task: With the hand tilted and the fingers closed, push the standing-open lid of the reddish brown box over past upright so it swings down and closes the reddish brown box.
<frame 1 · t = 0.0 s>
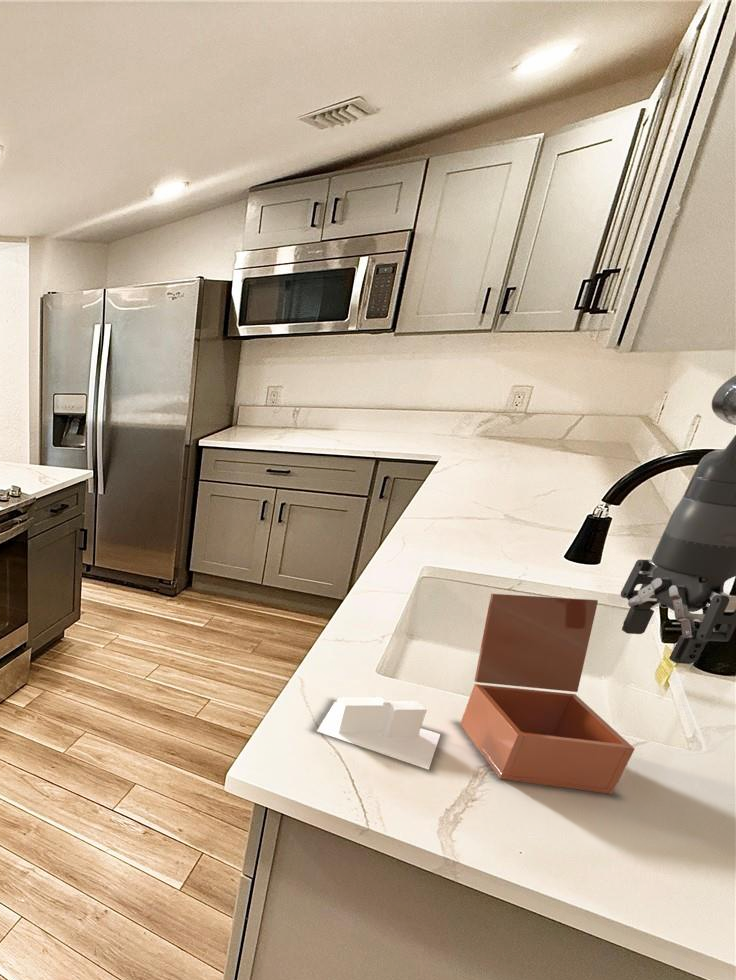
hand: (655, 646, 84), 19 cm above the worktop, tool pointing down, fingers open, 8 cm apart
napkin holder: (377, 733, 99), on the worktop
lid: (533, 642, 93), point 15 cm above the worktop, hinge at 104.4°
reddish brown box: (529, 756, 92), on the worktop
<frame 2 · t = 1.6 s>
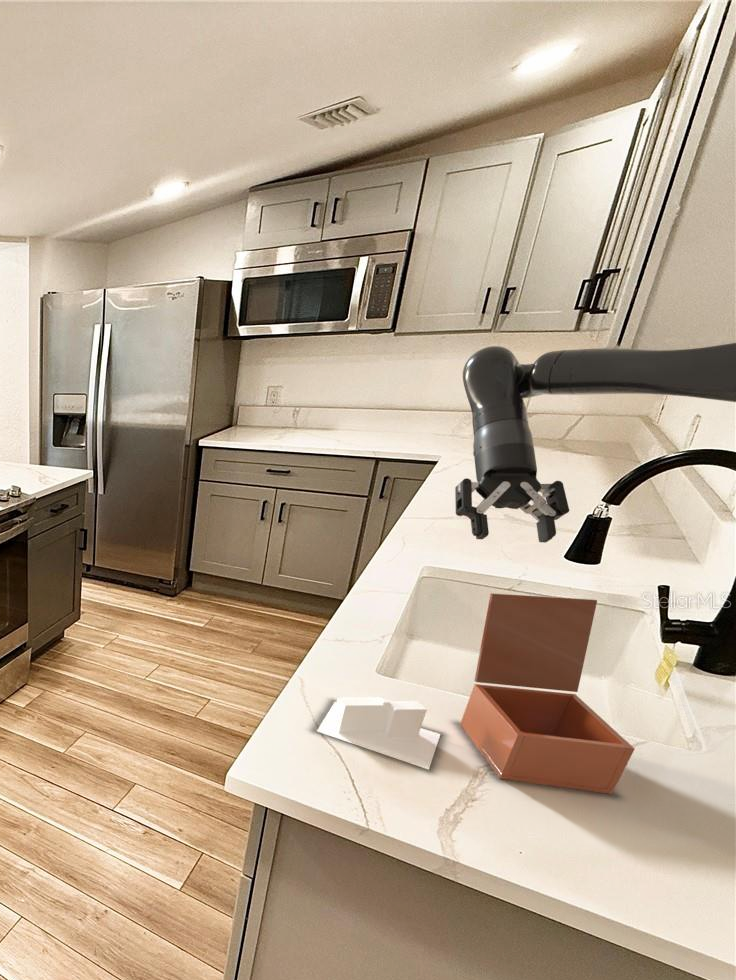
hand: (514, 539, 100), 27 cm above the worktop, tool tilted 45°, fingers open, 8 cm apart
lid: (533, 642, 93), point 15 cm above the worktop, hinge at 105.1°
everything else where it was.
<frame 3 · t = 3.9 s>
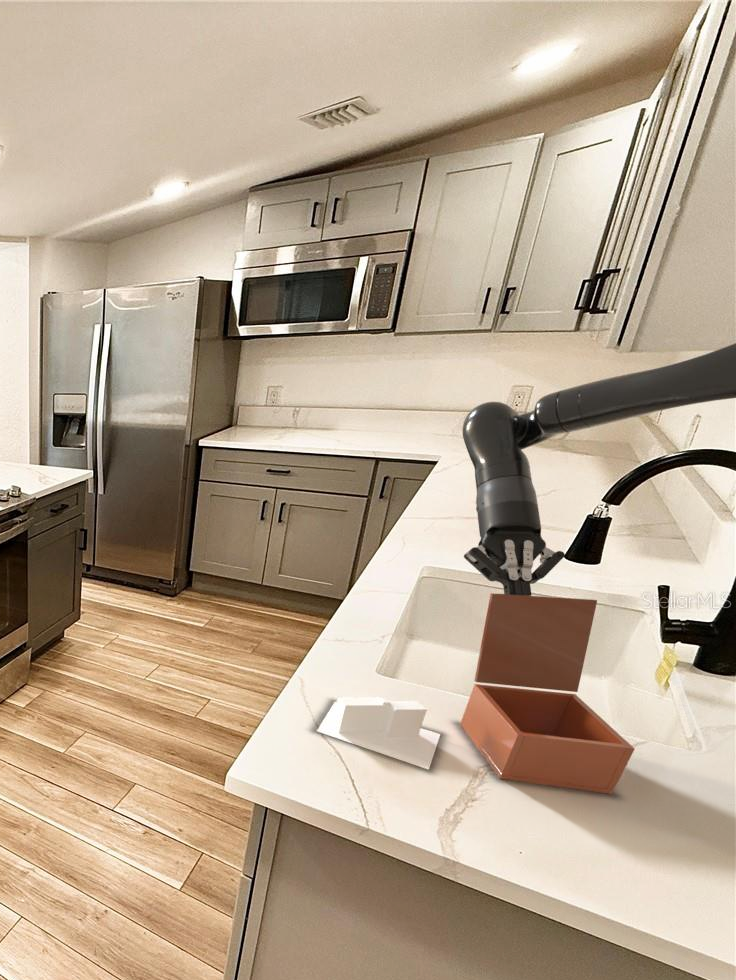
hand: (519, 605, 98), 18 cm above the worktop, tool tilted 45°, fingers closed
nothing on the worktop moved.
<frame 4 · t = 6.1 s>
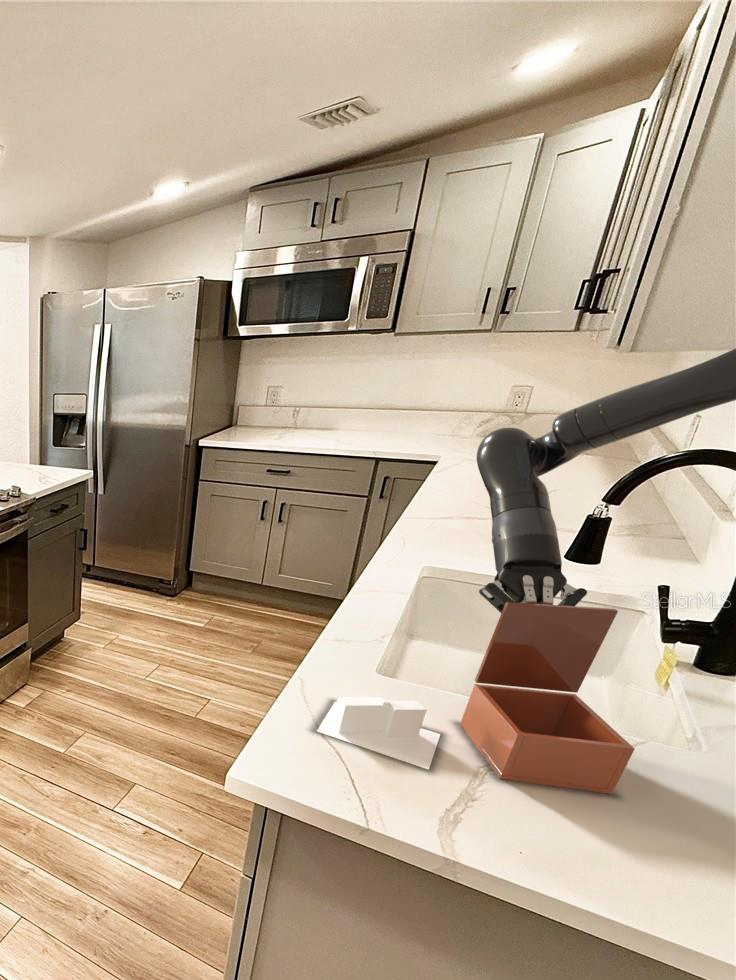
hand: (538, 645, 92), 15 cm above the worktop, tool tilted 45°, fingers closed
lid: (542, 647, 91), point 15 cm above the worktop, hinge at 86.6°, touching gripper
everything else where it was.
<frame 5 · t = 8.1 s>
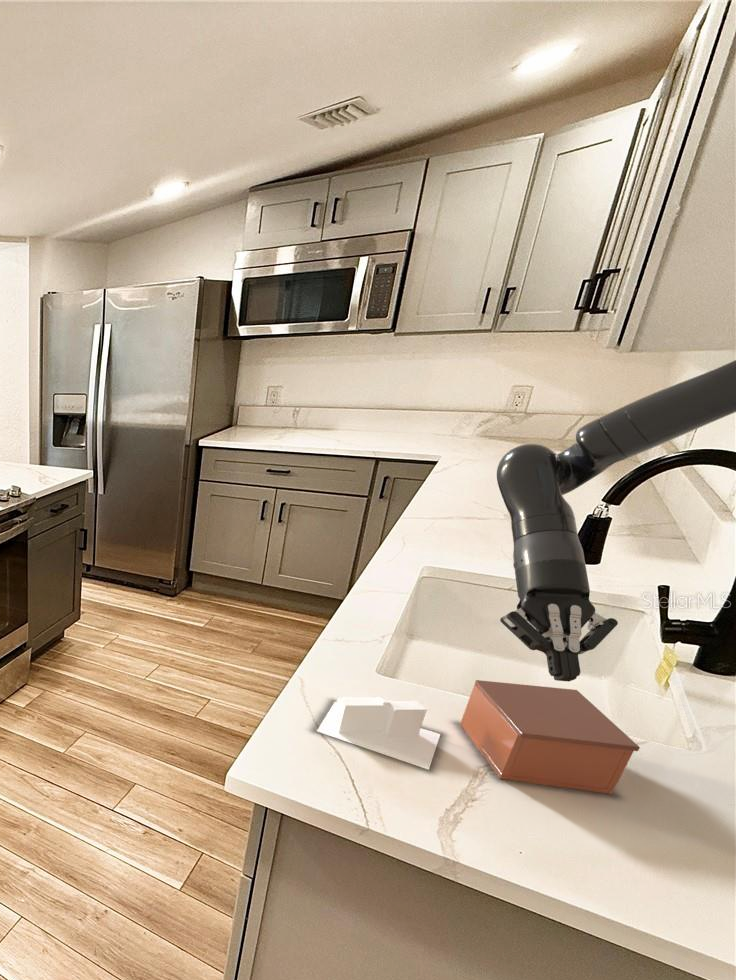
hand: (565, 679, 86), 14 cm above the worktop, tool tilted 45°, fingers closed
lid: (549, 712, 89), point 8 cm above the worktop, hinge at -0.2°
everything else where it was.
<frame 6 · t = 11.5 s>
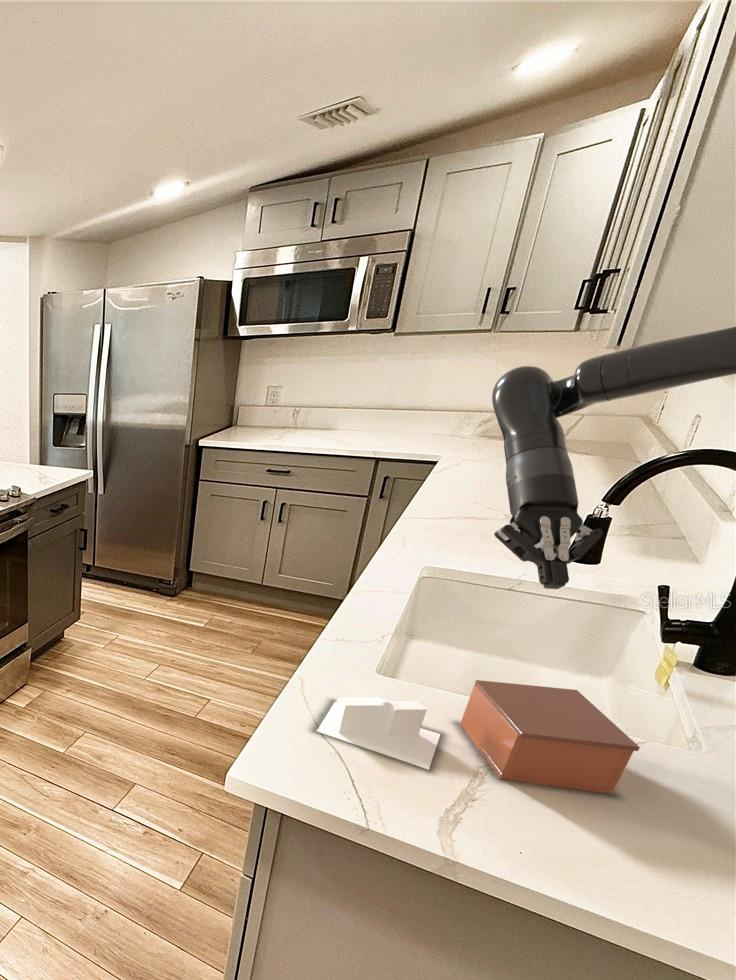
hand: (555, 587, 91), 24 cm above the worktop, tool tilted 45°, fingers closed
nothing on the worktop moved.
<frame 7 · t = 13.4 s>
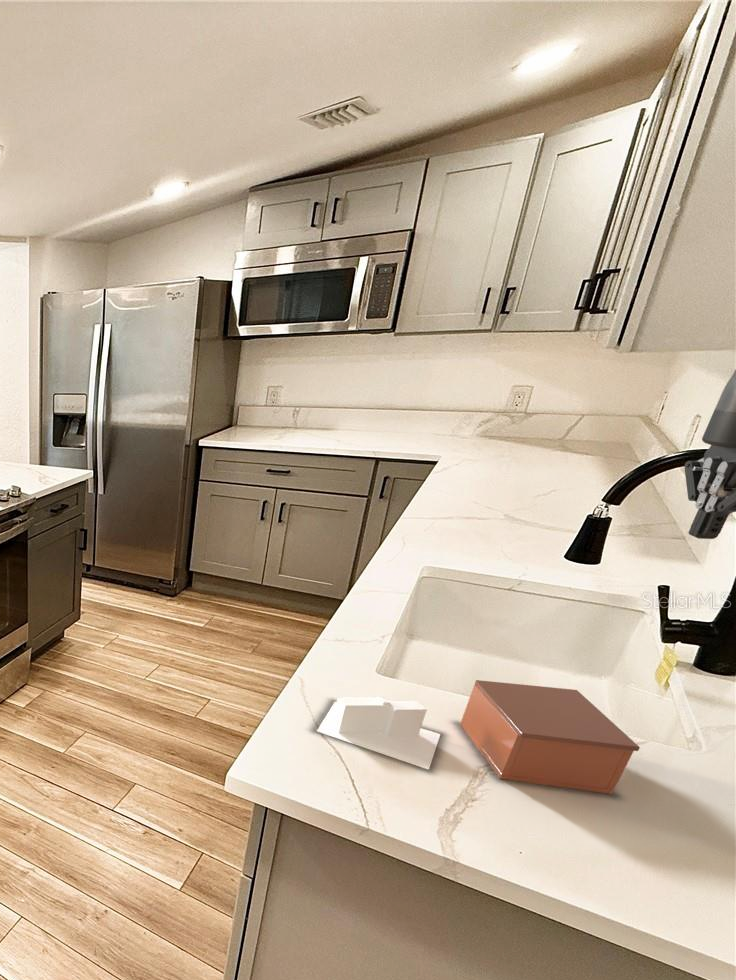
hand: (701, 536, 84), 32 cm above the worktop, tool pointing down, fingers closed
nothing on the worktop moved.
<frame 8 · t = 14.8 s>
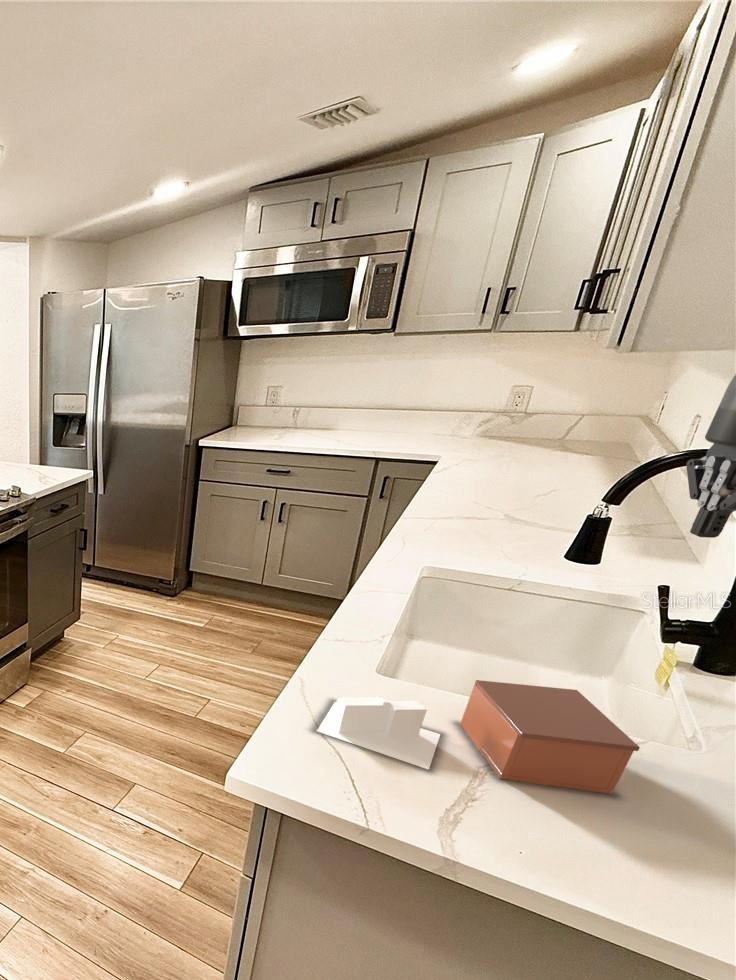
hand: (703, 535, 84), 32 cm above the worktop, tool pointing down, fingers closed
nothing on the worktop moved.
at the end: lid at +0° (first picture: +104°); napkin holder moved 0.2 cm from its start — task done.
